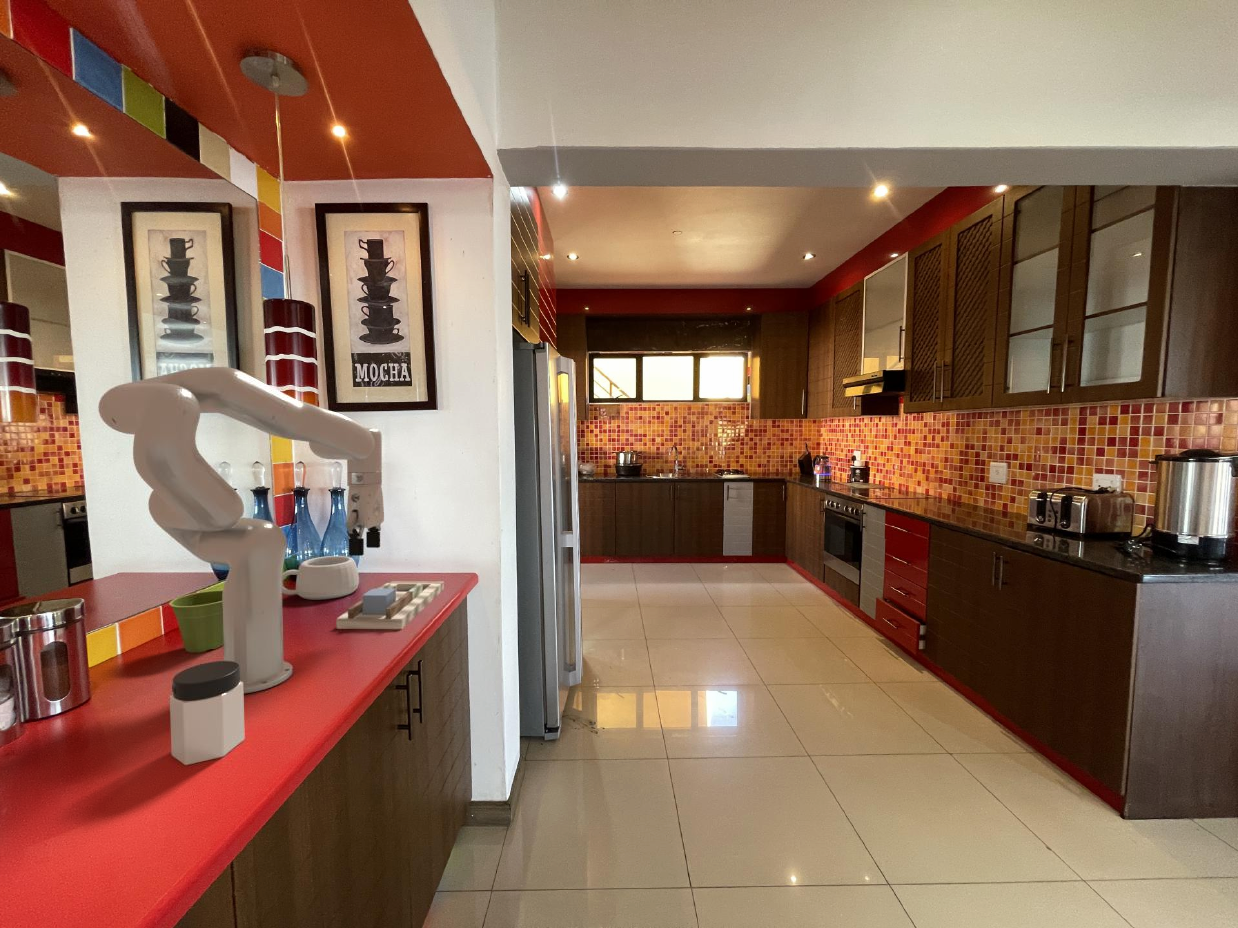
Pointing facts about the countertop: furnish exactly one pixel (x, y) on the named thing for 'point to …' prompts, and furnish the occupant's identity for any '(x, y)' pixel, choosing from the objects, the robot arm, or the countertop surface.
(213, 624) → the plant pot
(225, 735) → the jar
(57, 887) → the countertop surface
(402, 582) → the tunnel board
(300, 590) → the mug
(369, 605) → the slate block
